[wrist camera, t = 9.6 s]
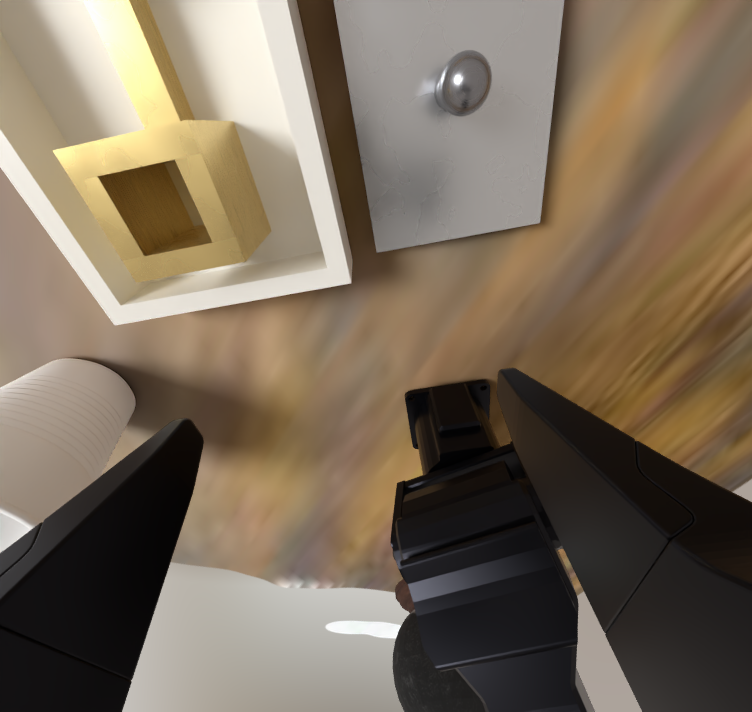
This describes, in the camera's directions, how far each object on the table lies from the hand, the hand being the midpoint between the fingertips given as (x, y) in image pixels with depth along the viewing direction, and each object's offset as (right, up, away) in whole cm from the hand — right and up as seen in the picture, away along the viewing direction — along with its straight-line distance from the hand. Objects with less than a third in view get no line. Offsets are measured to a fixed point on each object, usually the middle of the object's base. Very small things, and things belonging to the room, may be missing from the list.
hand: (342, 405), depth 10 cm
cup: (-20, -1, +15) cm, 25 cm away
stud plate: (+4, +15, +5) cm, 16 cm away
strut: (-8, +13, +6) cm, 16 cm away
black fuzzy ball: (+9, -32, +38) cm, 50 cm away
